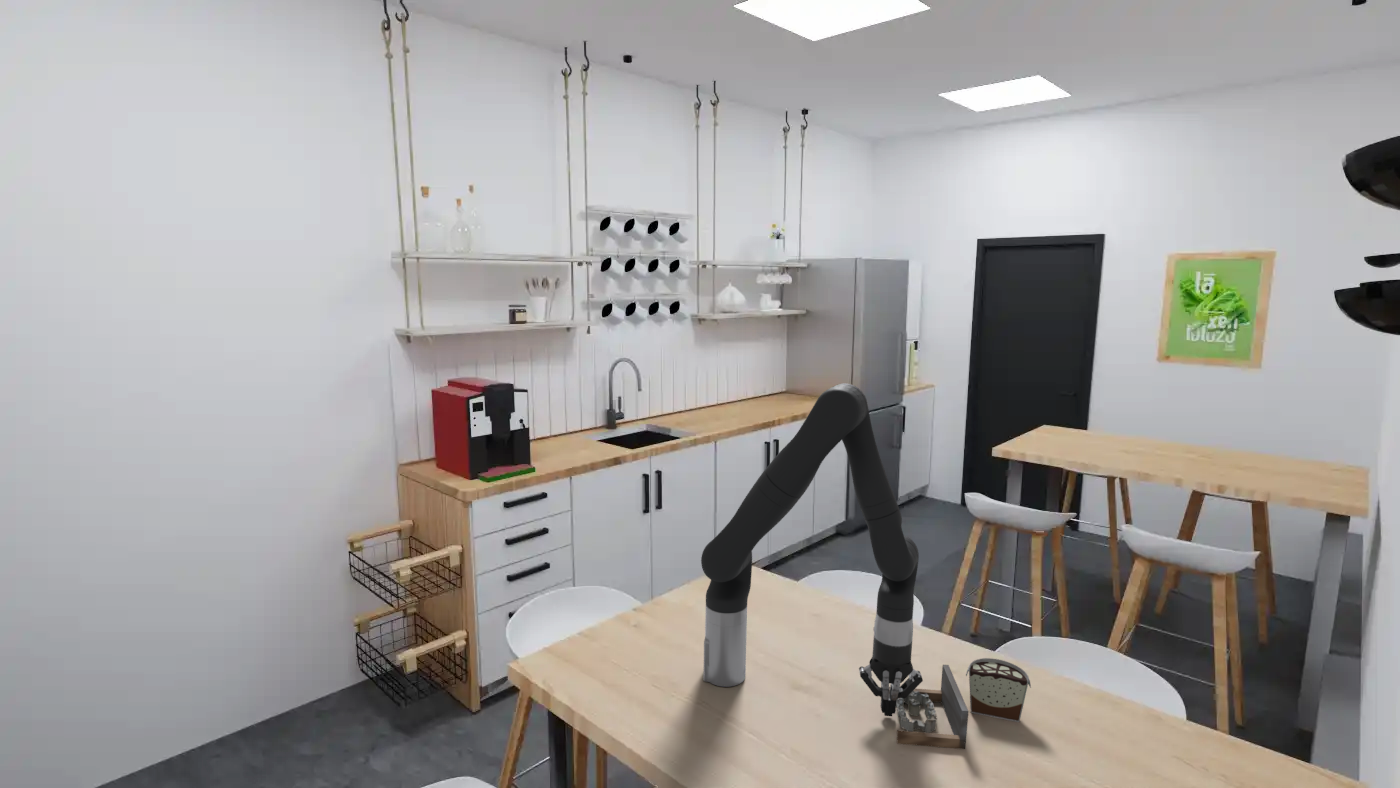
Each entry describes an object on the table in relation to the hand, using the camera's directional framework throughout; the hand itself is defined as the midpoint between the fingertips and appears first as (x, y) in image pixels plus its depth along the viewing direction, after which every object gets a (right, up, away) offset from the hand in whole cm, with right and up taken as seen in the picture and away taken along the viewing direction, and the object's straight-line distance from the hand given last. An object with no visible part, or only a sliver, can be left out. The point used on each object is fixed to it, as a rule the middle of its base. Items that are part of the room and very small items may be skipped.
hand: (887, 713), depth 146 cm
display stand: (+7, -1, -1) cm, 7 cm away
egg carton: (+6, -1, +1) cm, 6 cm away
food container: (+23, -1, +4) cm, 24 cm away
